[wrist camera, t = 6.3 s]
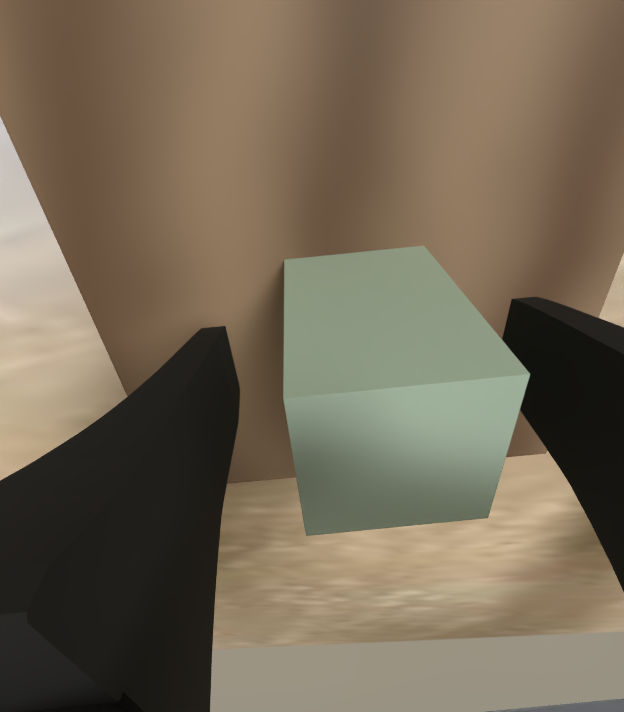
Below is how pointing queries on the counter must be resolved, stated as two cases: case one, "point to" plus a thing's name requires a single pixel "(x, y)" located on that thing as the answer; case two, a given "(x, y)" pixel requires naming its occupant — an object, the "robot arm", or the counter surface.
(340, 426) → the block
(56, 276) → the counter surface
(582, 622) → the counter surface
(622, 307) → the counter surface
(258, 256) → the base board
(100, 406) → the counter surface
